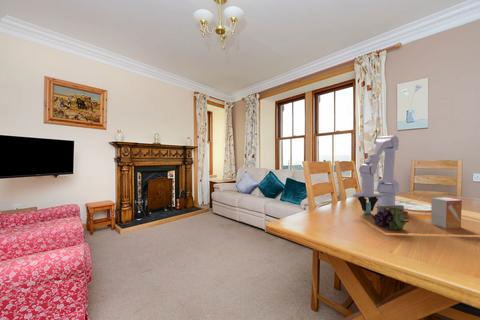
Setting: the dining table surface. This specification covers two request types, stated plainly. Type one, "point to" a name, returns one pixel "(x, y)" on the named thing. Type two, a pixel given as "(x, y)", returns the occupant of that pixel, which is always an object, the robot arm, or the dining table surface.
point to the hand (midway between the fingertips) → (367, 210)
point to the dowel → (368, 208)
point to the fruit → (390, 219)
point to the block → (404, 213)
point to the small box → (446, 212)
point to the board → (382, 207)
